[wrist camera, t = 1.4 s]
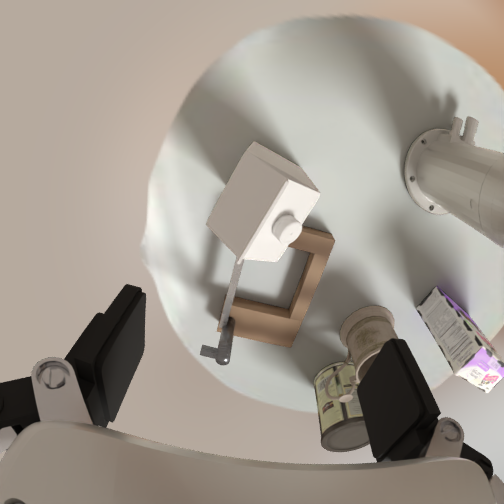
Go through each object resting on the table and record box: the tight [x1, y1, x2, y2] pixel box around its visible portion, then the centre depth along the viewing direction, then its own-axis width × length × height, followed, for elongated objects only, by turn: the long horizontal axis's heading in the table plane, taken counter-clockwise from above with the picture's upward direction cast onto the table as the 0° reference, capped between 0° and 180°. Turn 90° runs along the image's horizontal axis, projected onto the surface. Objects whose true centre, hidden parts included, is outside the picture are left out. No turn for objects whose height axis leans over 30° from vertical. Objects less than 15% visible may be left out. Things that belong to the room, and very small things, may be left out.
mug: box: [325, 306, 398, 402], centre depth 43 cm, size 14×10×12 cm
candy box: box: [416, 286, 504, 393], centre depth 38 cm, size 14×6×16 cm, turn 57°
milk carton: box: [206, 141, 321, 264], centre depth 30 cm, size 7×7×19 cm
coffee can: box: [314, 362, 370, 452], centre depth 46 cm, size 10×10×14 cm
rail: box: [219, 257, 244, 328], centre depth 42 cm, size 16×1×4 cm, turn 166°
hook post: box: [200, 317, 235, 365], centre depth 41 cm, size 2×4×8 cm, turn 76°
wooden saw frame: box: [217, 226, 335, 348], centre depth 43 cm, size 19×12×2 cm, turn 166°
